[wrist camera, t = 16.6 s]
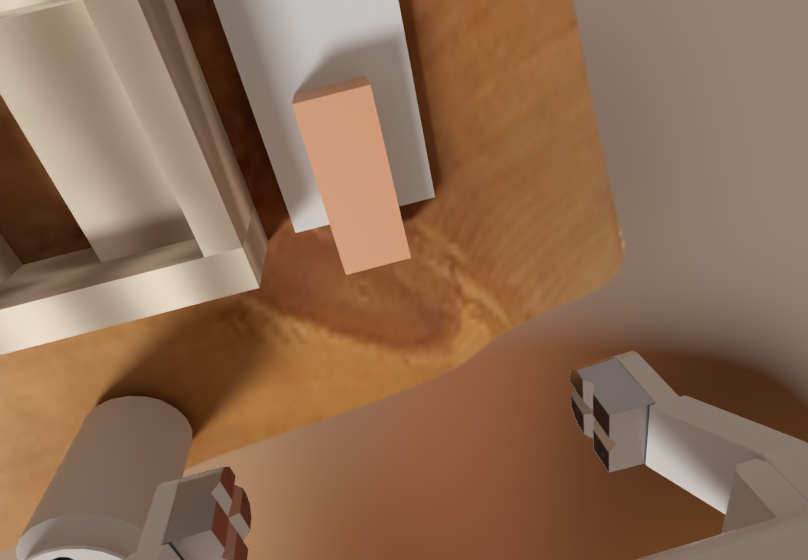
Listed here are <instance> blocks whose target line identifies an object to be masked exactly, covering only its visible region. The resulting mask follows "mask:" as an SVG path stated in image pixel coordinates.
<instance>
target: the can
mask: <svg viewBox="0 0 808 560" xmlns="http://www.w3.org/2000/svg"><path fill="white" fill-rule="evenodd" d="M191 444H192V428H191V426H190V424H189V422H188V420H187V418H186V417H185V416H184V415H183V414H182V413H181V412H180V411H179V410H178V409H176V408H174V407H172V406H171V405H169V404H167V403H165V402H164V401H162V400H159V399H155V398H151V397H146V396H125V397H120V398H115V399H110V400H108V401H106V402H104V403H102V404H100V405H98V406H96V407H95V408H94V409H93V410H92V411H91V412H90V413H89V414H88V415H87V417H86V419H85V420H84V422H83V424H82V426H81V428H80V430H79V431H78V433H77V435H76V437H75V439H74V441H73V442H72V444H71V446H70V448H69V450H68V451H67V453H66V455H65V457H64V459H63V461H62V462H61V464H60V466H59V468H58V470H57V472H56V473H55V475H54V477H53V479H52V481H51V482H50V484H49V486H48V488H47V490H46V492H45V493H44V495H43V497H42V499H41V501H40V503H39V504H38V506H37V508H36V510H35V512H34V514H33V515H32V517H31V519H30V521H29V523H28V524H27V526H26V528H25V530H24V532H23V534H22V535H21V537H20V539H19V542H18V545H17V548H16V551H15V552H16V556H17V559H18V560H125V559H126V558H127V557H128V556H129V555H130V554H133V553H136V551H137V548H138V545H139V542H140V539H141V535H142V532H143V529H144V526H145V523H146V520H147V516H148V513H149V510H150V507H151V504H152V500H153V497H154V494H155V491H156V489H157V488H158V487H159V485H160V484H161V483H164V482H168V481H172V480H176V479H180V478H182V476H183V472H184V469H185V465H186V462H187V458H188V455H189V451H190V447H191Z"/></svg>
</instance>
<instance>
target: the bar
mask: <svg viewBox="0 0 808 560" xmlns="http://www.w3.org/2000/svg"><path fill="white" fill-rule="evenodd" d="M292 106H293V109H294V113H295V116H296V119H297V122H298V125H299V128H300V131H301V135H302V138H303V141H304V144H305V147H306V150H307V154H308V157H309V160H310V163H311V166H312V169H313V173H314V176H315V179H316V182H317V185H318V188H319V191H320V195H321V198H322V201H323V204H324V207H325V210H326V214H327V217H328V220H329V223H330V226H331V229H332V233H333V236H334V239H335V242H336V245H337V248H338V251H339V255H340V258H341V261H342V264H343V267H344V270H345V274H346V275H348V274H352V273H355V272H359V271H363V270H367V269H370V268H374V267H378V266H382V265H386V264H389V263H393V262H397V261H401V260H405V259H408V258H411V256H410V252H409V248H408V244H407V239H406V235H405V231H404V226H403V222H402V218H401V213H400V209H399V205H398V201H397V196H396V192H395V188H394V183H393V179H392V175H391V170H390V166H389V162H388V157H387V153H386V149H385V145H384V140H383V136H382V132H381V127H380V123H379V119H378V114H377V110H376V106H375V102H374V97H373V93H372V89H371V84H370V83H369V81H368V80H367V78H366V77H361V78H357V79H353V80H349V81H345V82H341V83H337V84H333V85H329V86H325V87H321V88H317V89H313V90H309V91H305V92H301V93H297V94H294V97H293V102H292Z"/></svg>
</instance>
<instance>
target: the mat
mask: <svg viewBox="0 0 808 560" xmlns="http://www.w3.org/2000/svg"><path fill="white" fill-rule="evenodd" d="M213 1H214V4H215V7H216V10H217V12H218V15H219V18H220V21H221V24H222V27H223V29H224V32H225V35H226V38H227V41H228V43H229V46H230V49H231V52H232V55H233V58H234V60H235V63H236V66H237V69H238V72H239V74H240V77H241V80H242V83H243V86H244V89H245V91H246V94H247V97H248V100H249V103H250V105H251V108H252V111H253V114H254V117H255V120H256V122H257V125H258V128H259V131H260V134H261V137H262V139H263V142H264V145H265V148H266V151H267V153H268V156H269V159H270V162H271V165H272V168H273V170H274V173H275V176H276V179H277V182H278V184H279V187H280V190H281V193H282V196H283V199H284V201H285V204H286V207H287V210H288V213H289V215H290V218H291V221H292V224H293V227H294V230H295V232H296V233H297V232H301V231H305V230H309V229H313V228H317V227H321V226H325V225H329V224H330V223H329V220H328V217H327V214H326V210H325V207H324V204H323V201H322V198H321V195H320V191H319V188H318V185H317V182H316V179H315V176H314V173H313V169H312V166H311V163H310V160H309V157H308V154H307V150H306V147H305V144H304V141H303V138H302V135H301V131H300V128H299V125H298V122H297V119H296V116H295V113H294V109H293V106H292V102H293V97H294V94H297V93H301V92H305V91H309V90H313V89H317V88H321V87H325V86H329V85H333V84H337V83H341V82H345V81H349V80H353V79H357V78H361V77H366V78H367V80H368V81H369V83H370V84H371V89H372V93H373V97H374V102H375V106H376V110H377V114H378V119H379V123H380V127H381V132H382V136H383V140H384V145H385V149H386V153H387V157H388V162H389V166H390V170H391V175H392V179H393V183H394V188H395V192H396V196H397V201H398V205H399V206H403V205H407V204H411V203H414V202H418V201H422V200H426V199H430V198H434V197H435V195H434V189H433V184H432V178H431V173H430V168H429V162H428V157H427V151H426V146H425V141H424V135H423V130H422V124H421V119H420V114H419V108H418V103H417V97H416V92H415V87H414V81H413V76H412V70H411V65H410V60H409V54H408V49H407V43H406V38H405V33H404V27H403V22H402V16H401V11H400V6H399V0H213Z"/></svg>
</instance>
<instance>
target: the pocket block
mask: <svg viewBox="0 0 808 560" xmlns="http://www.w3.org/2000/svg"><path fill="white" fill-rule="evenodd" d="M0 94H1V96H2V98H3V99H4V101H5V103H6V104H7V106H8V108H9V109H10V111H11V113H12V114H13V116H14V118H15V119H16V121H17V123H18V124H19V126H20V128H21V129H22V131H23V133H24V134H25V136H26V138H27V139H28V141H29V143H30V144H31V146H32V148H33V149H34V151H35V153H36V154H37V156H38V158H39V159H40V161H41V163H42V164H43V166H44V168H45V169H46V171H47V173H48V174H49V176H50V178H51V179H52V181H53V183H54V184H55V186H56V188H57V189H58V191H59V193H60V194H61V196H62V198H63V199H64V201H65V203H66V204H67V206H68V208H69V209H70V211H71V213H72V214H73V216H74V218H75V219H76V221H77V223H78V224H79V226H80V228H81V229H82V231H83V233H84V234H85V236H86V238H87V239H88V241H89V243H90V244H91V246H92V247H91V248H87V249H83V250H79V251H75V252H71V253H67V254H63V255H59V256H55V257H52V258H48V259H44V260H40V261H36V262H32V263H28V264H24V265H23V264H22V263H21V261H20V260H19V259H18V257H17V256H16V254H15V253H14V251H13V250H12V249H11V247H10V246H9V244H8V243H7V241H6V240H5V239H4V237H3V236H2V234H1V233H0V355H2V354H6V353H10V352H14V351H18V350H21V349H25V348H29V347H33V346H37V345H41V344H45V343H48V342H52V341H56V340H60V339H64V338H68V337H72V336H75V335H79V334H83V333H87V332H91V331H95V330H99V329H102V328H106V327H110V326H114V325H118V324H122V323H126V322H129V321H133V320H137V319H141V318H145V317H149V316H153V315H156V314H160V313H164V312H168V311H172V310H176V309H180V308H183V307H187V306H191V305H195V304H199V303H203V302H207V301H210V300H214V299H218V298H222V297H226V296H230V295H234V294H237V293H241V292H245V291H249V290H253V289H257V288H260V282H261V277H262V272H263V267H264V262H265V257H266V251H267V246H268V239H267V236H266V234H265V231H264V229H263V226H262V223H261V221H260V218H259V216H258V213H257V211H256V208H255V205H254V203H253V200H252V198H251V195H250V193H249V190H248V188H247V185H246V182H245V180H244V177H243V175H242V172H241V170H240V167H239V164H238V162H237V159H236V157H235V154H234V152H233V149H232V146H231V144H230V141H229V139H228V136H227V134H226V131H225V129H224V126H223V123H222V121H221V118H220V116H219V113H218V111H217V108H216V105H215V103H214V100H213V98H212V95H211V93H210V90H209V88H208V85H207V82H206V80H205V77H204V75H203V72H202V70H201V67H200V64H199V62H198V59H197V57H196V54H195V52H194V49H193V46H192V44H191V41H190V39H189V36H188V34H187V31H186V29H185V26H184V23H183V21H182V18H181V16H180V13H179V11H178V8H177V5H176V3H175V0H0Z"/></svg>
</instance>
